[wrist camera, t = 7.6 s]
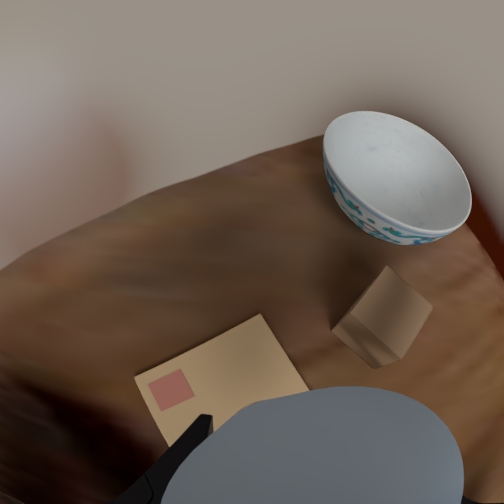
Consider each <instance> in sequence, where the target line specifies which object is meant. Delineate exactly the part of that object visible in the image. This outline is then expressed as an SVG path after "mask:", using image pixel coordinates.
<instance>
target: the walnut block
mask: <svg viewBox="0 0 504 504" xmlns="http://www.w3.org/2000/svg"><path fill="white" fill-rule="evenodd" d="M432 308H433V306H432V305H431V304H430V303H429V302H428V301H427V300H425V299H424V298H423V297H422V296H421V295H420V294H419V293H418V292H417V291H416V290H414V289H413V288H412V287H411V286H410V285H409V284H408V283H407V282H405V281H404V280H403V279H402V278H401V277H400V276H399V275H397V274H396V273H395V272H394V271H393V270H392V269H390V268H389V267H388V266H387V265H386V266H385V268H384V269H383V270H382V271H381V272H380V273H379V275H378V276H377V277H376V278H375V279H374V280H373V281H372V282H371V284H370V285H369V286H368V287H367V288H366V289H365V290H364V291H363V293H362V294H361V295H360V297H359V298H358V299H357V300H356V302H355V303H354V304H353V305H352V306H351V308H350V309H349V310H348V311H347V313H346V314H345V315H344V316H343V317H342V319H341V320H340V321H339V322H338V323H337V324H336V326H335V327H334V328H333V329H332V330H331V332H332V333H333V334H334V335H335V336H337V337H338V338H339V339H340V340H341V341H342V342H343V343H345V344H346V345H347V346H348V347H349V348H350V349H351V350H353V351H354V352H355V353H356V354H357V355H358V356H359V357H360V358H362V359H363V360H364V361H365V362H366V363H367V364H368V365H370V366H371V367H372V368H373V369H376V368H378V367H381V366H384V365H387V364H390V363H392V362H395V361H398V360H400V359H402V358H403V356H404V355H405V353H406V352H407V350H408V349H409V347H410V346H411V344H412V342H413V341H414V339H415V338H416V336H417V334H418V333H419V331H420V329H421V327H422V326H423V324H424V322H425V321H426V319H427V317H428V315H429V313H430V312H431V310H432Z"/></svg>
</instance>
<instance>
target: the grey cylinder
mask: <svg viewBox="0 0 504 504" xmlns="http://www.w3.org/2000/svg"><path fill="white" fill-rule="evenodd" d="M463 486H464V471H463V462H462V458H461V453H460V450H459V447H458V445H457V443H456V440H455V438H454V436H453V435H452V433H451V431H450V430H449V428H448V427H447V425H446V424H445V423H444V422H443V421H442V420H441V419H440V418H439V417H438V416H437V415H436V414H435V413H434V412H433V411H431V410H430V409H429V408H427V407H426V406H425V405H423V404H421V403H419V402H417V401H416V400H414V399H412V398H410V397H407V396H404V395H402V394H399V393H396V392H392V391H388V390H383V389H379V388H370V387H360V386H349V387H331V388H323V389H315V390H310V391H306V392H302V393H297V394H293V395H288V396H283V397H278V398H273V399H267V400H261V401H257V402H253V403H251V404H248V405H246V406H245V407H243V408H241V409H240V410H239V411H238V412H236V413H235V414H234V415H233V416H232V417H231V418H230V419H229V420H227V421H226V422H225V423H224V424H223V425H222V426H220V427H219V428H218V429H217V430H216V431H215V432H213V433H212V434H211V435H210V436H209V437H208V438H206V439H205V440H204V441H203V442H202V443H201V444H200V445H199V446H198V447H196V448H195V449H194V450H193V451H192V452H191V453H190V455H189V456H188V457H187V458H186V459H185V460H184V461H183V463H182V464H181V465H180V466H179V468H178V469H177V471H176V472H175V474H174V475H173V477H172V479H171V480H170V482H169V484H168V486H167V488H166V491H165V493H164V495H163V498H162V501H161V504H461V499H462V495H463Z"/></svg>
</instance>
